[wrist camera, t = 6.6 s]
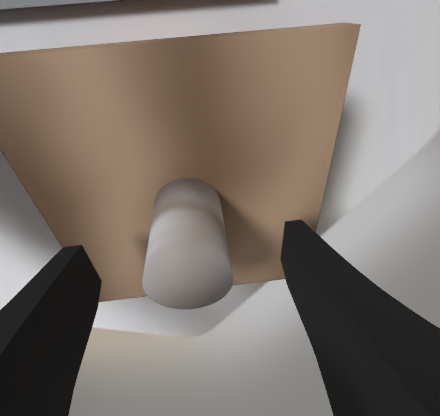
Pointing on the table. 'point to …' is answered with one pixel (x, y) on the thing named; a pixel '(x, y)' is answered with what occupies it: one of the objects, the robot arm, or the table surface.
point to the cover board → (178, 151)
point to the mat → (41, 3)
